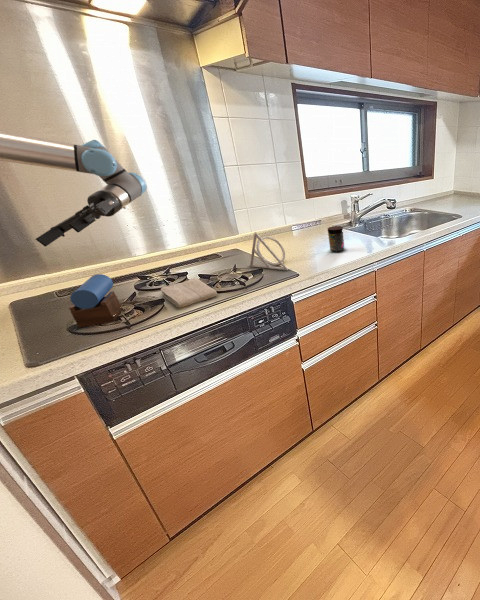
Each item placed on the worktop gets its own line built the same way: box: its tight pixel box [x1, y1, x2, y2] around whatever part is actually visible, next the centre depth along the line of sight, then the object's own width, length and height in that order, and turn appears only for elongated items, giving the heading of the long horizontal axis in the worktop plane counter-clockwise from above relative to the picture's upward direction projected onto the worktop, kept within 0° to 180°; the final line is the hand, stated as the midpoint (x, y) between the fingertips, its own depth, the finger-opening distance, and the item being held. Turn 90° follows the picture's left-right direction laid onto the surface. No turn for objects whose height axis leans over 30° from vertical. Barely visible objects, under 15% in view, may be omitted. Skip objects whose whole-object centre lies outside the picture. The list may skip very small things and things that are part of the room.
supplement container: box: [327, 225, 346, 254], centre depth 146 cm, size 7×7×10 cm
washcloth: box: [160, 278, 219, 308], centre depth 106 cm, size 12×18×3 cm, turn 51°
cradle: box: [68, 290, 123, 329], centre depth 93 cm, size 8×8×6 cm
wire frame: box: [249, 232, 289, 271], centre depth 131 cm, size 18×13×16 cm
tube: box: [69, 273, 114, 309], centre depth 93 cm, size 13×6×6 cm, turn 24°
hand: (56, 235), depth 90 cm, fingers open, 13 cm apart
